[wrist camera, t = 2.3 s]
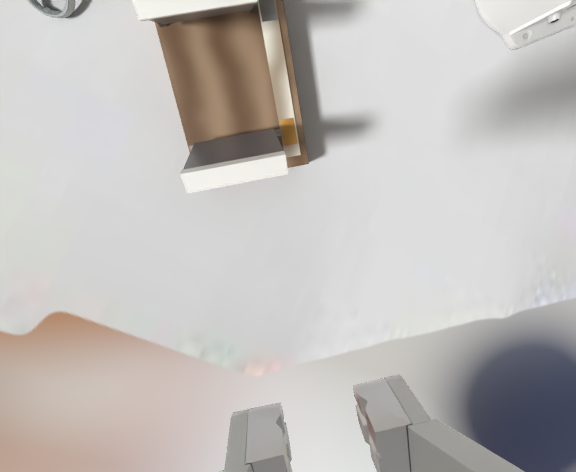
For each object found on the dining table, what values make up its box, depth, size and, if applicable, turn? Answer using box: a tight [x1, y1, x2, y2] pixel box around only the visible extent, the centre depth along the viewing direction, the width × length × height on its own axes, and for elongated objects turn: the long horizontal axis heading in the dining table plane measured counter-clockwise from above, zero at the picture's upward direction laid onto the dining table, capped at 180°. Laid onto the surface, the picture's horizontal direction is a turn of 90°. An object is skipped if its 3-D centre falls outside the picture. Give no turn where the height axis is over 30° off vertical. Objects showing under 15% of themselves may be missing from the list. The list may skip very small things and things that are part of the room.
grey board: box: [180, 129, 288, 193], centre depth 33 cm, size 11×2×11 cm, turn 100°
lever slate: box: [132, 0, 257, 24], centre depth 28 cm, size 11×2×11 cm, turn 100°
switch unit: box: [155, 0, 309, 168], centre depth 38 cm, size 17×26×6 cm, turn 10°
